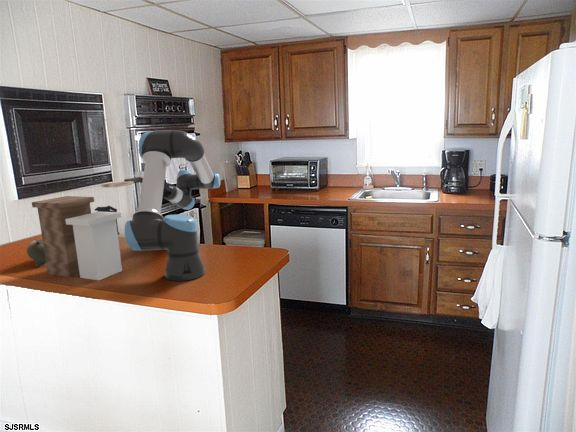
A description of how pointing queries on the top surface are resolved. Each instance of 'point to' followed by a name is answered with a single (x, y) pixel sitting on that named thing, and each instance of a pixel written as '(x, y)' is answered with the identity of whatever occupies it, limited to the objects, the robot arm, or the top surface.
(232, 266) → the top surface
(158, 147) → the robot arm
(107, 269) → the white tapered pedestal
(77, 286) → the top surface
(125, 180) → the turner
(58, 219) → the plinth
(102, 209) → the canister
